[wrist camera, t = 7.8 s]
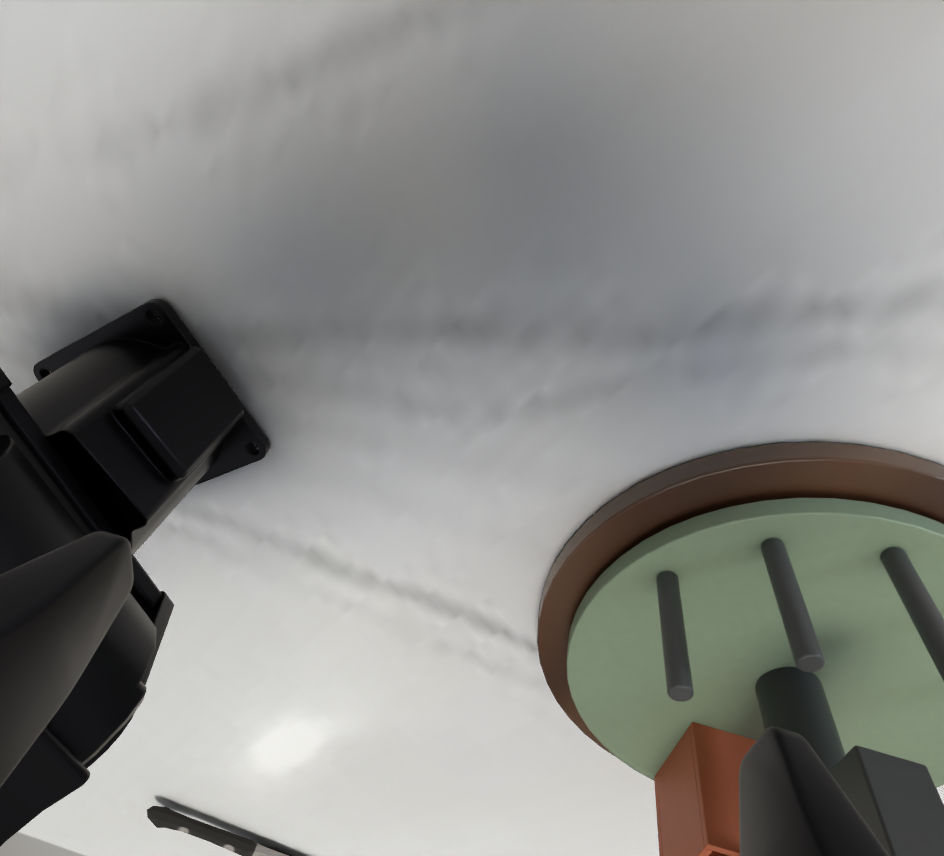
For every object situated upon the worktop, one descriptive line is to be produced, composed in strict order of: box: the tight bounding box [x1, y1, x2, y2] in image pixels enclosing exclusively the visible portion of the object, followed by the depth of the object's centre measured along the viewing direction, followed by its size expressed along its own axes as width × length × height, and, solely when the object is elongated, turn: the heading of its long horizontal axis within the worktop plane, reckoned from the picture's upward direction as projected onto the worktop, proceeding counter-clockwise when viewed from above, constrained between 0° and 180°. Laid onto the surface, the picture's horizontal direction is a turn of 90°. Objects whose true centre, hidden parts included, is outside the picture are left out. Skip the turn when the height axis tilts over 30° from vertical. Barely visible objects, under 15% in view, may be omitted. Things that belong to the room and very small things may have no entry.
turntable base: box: [537, 442, 944, 756], centre depth 25 cm, size 18×18×1 cm
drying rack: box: [567, 498, 944, 856], centre depth 20 cm, size 16×16×11 cm
